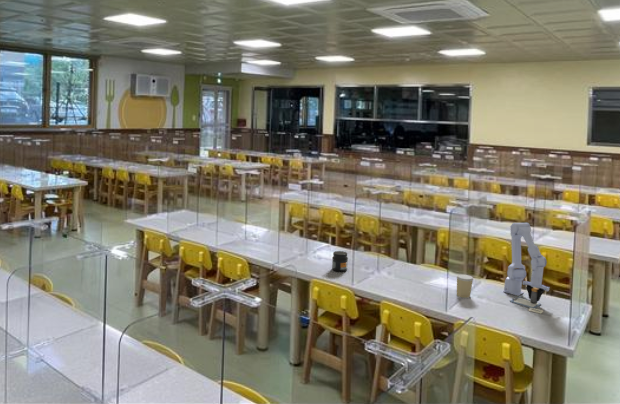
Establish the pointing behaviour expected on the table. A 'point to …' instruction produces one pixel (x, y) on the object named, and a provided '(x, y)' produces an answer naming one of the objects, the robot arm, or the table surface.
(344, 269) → the supplement container
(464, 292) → the coffee cup
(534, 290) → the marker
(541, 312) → the word card
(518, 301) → the clipboard
